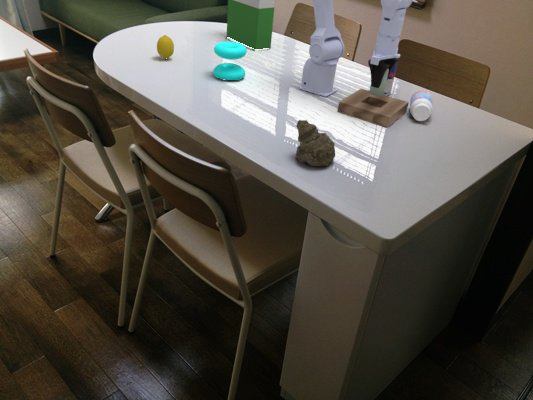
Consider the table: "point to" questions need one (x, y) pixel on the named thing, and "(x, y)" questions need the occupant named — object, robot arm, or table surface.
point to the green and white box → (251, 22)
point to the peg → (381, 89)
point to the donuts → (230, 52)
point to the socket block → (373, 107)
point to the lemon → (165, 46)
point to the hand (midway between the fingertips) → (378, 85)
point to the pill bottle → (421, 105)
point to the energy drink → (390, 81)
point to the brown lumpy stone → (314, 145)
